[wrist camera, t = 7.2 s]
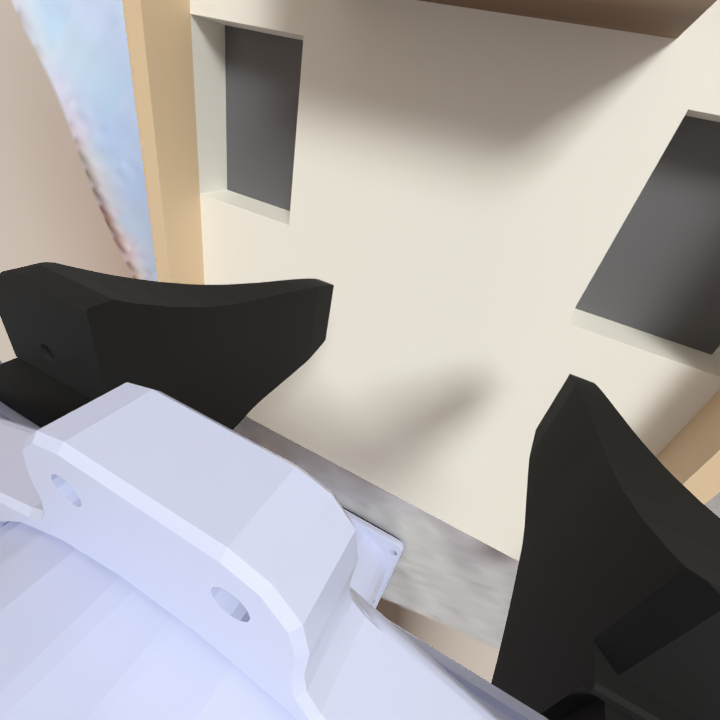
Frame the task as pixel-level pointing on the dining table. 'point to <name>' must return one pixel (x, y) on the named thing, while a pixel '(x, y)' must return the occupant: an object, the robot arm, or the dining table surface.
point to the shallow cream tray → (449, 225)
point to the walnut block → (603, 12)
